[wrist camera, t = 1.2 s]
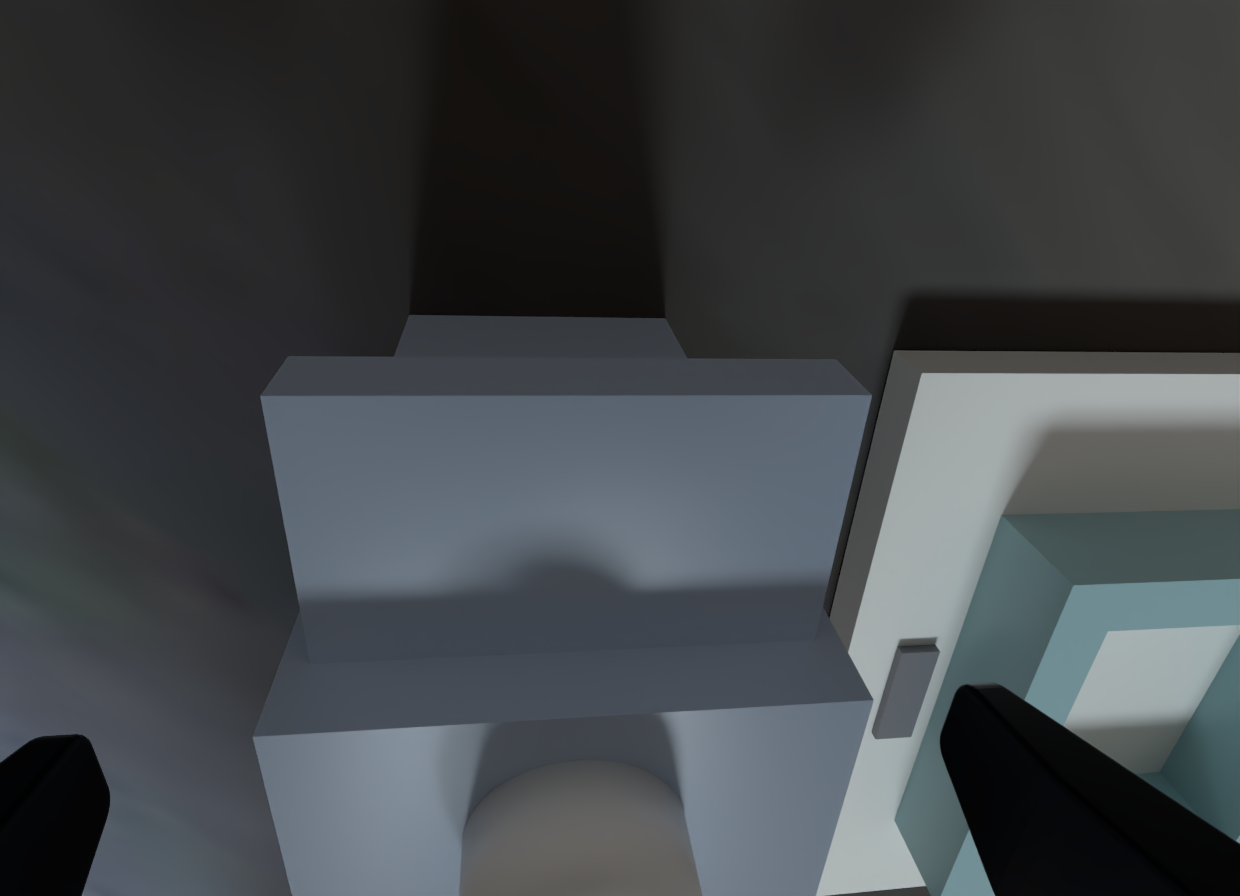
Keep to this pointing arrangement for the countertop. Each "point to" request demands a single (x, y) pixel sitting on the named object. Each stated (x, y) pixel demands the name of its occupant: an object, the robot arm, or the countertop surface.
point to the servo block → (560, 615)
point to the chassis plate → (1041, 585)
